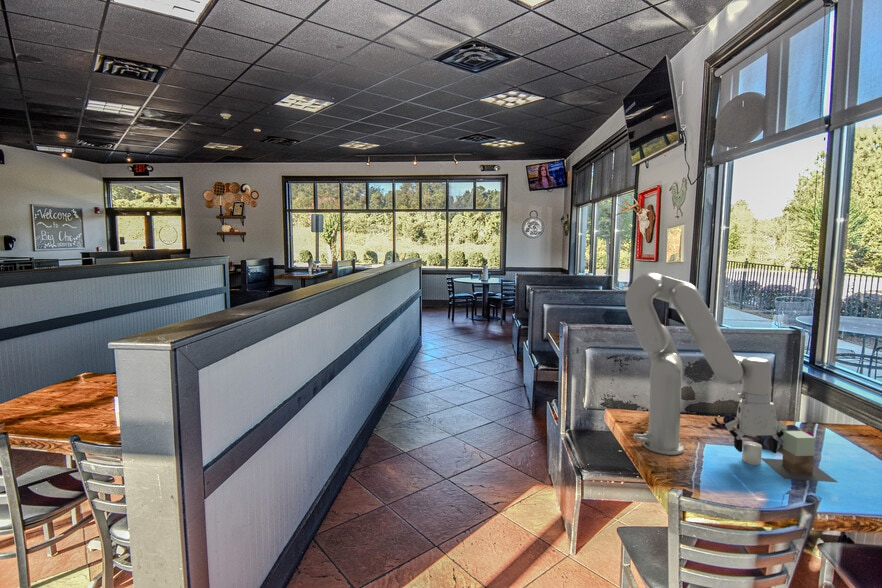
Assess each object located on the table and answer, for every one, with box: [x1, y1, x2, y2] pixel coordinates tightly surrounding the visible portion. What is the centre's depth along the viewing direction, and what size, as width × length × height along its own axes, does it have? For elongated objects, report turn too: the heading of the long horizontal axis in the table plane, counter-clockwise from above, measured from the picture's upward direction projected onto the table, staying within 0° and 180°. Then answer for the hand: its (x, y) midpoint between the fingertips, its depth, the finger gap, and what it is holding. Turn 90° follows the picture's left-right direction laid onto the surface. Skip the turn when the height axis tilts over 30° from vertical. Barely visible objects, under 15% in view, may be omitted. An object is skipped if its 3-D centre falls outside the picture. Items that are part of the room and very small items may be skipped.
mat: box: [761, 457, 838, 483], centre depth 145 cm, size 14×14×1 cm
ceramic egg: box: [741, 440, 763, 466], centre depth 151 cm, size 5×5×6 cm
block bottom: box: [782, 448, 815, 474], centre depth 145 cm, size 6×6×6 cm
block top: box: [782, 430, 817, 457], centre depth 145 cm, size 6×6×6 cm
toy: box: [710, 411, 815, 451], centre depth 168 cm, size 16×9×30 cm
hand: (755, 450), depth 150 cm, fingers open, 9 cm apart
